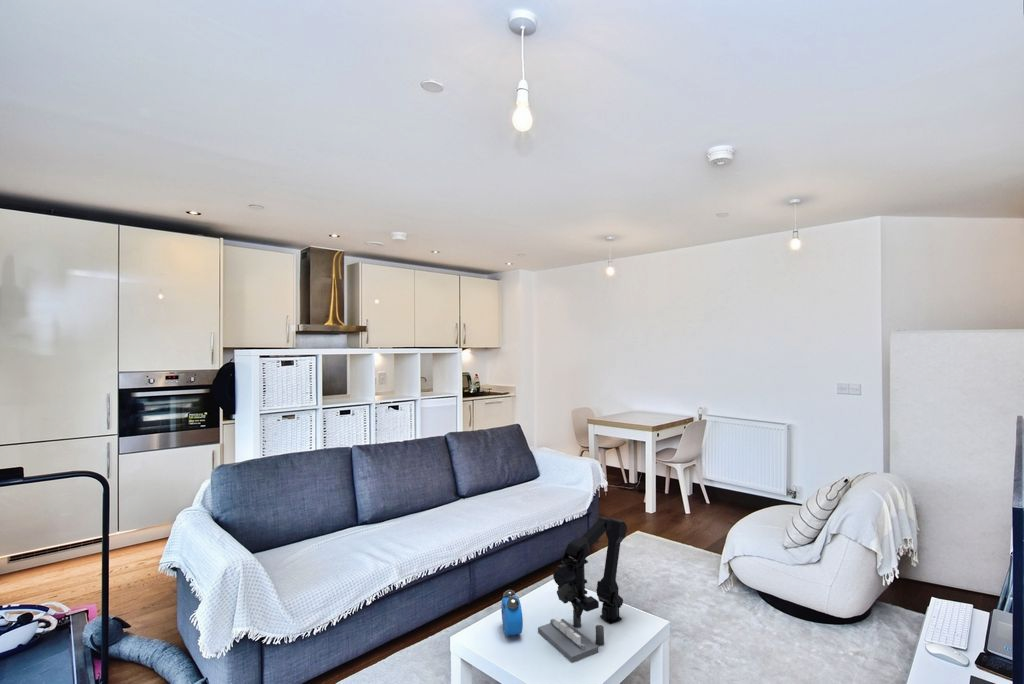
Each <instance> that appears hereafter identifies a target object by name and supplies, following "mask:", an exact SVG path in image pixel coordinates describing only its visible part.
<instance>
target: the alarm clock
mask: <svg viewBox="0 0 1024 684" xmlns="http://www.w3.org/2000/svg"><path fill="white" fill-rule="evenodd" d="M500 607H501V608H500V609H501V620H502V621H501V622H502V628H503V632H504V634H505V636H507V637H508V636H515V635H517V636H518V637H520V635H521V634H522V633H523V628H524V627H523V625H524V622H523V620H524V618H523V610H522V604H521V601H520V598H519V597H518V596H517V595H516V592H515V591H514V590H512V589H508V590H506V591H504V592H503V596H502V599H501V605H500Z"/></svg>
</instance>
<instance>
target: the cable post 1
mask: <svg viewBox="0 0 1024 684" xmlns="http://www.w3.org/2000/svg"><path fill="white" fill-rule="evenodd" d="M572 617H573V618H572V619H573V620H572V622H573V625H572V626H573V627H574V628H576V629H577V628H580V627H581V626H582V616H581V617H580V618H579V619H577V618H576V615H575V612H574V609H573V610H572Z"/></svg>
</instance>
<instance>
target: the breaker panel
mask: <svg viewBox="0 0 1024 684" xmlns="http://www.w3.org/2000/svg"><path fill="white" fill-rule="evenodd" d="M560 620H561V621H562V622H563V623H565V624H566V625H567V626H568V627H570V628H571V629H572V630H573V631H574V633H575V632H576V633H577V634H578V635H580V636H581V648H580V647H579V646H578V645H577V644H576V643H574V642H573V641H572V640H571V639H570V638H568V637H567V636H566V635H565V634H564V633H562V632H561V631H560V630H559V629H558V628H556V627H555V626H554V625H553V624H552V622H553V621H554V618H550V621H549V622H550V623H547V624H544V625H540V626H538V627H537V633H538V634H539V635H540V636H542V638H544V639H545V640H546V641H547V642H548V643H549V644H551V646H553V648H554V649H556V650H557V651H558V652H559V653H561V655H563V657H565V658H566V659H567V660H568V661H569V662H570V663H571V664H572V663H575V662H577V661H580V660H582V659H585V658H588V657H590V656H592V655H595V654H597V653H599V652H600V651H599V645H597V644H596V642H594V641H592V640H591V639H589V638H588V637H587V636H585V634H583V633H582V632H581V631H579V630H578V629H577V628H576V627H574V626H573V625H572V624H571V623H569V622H568V621H567V620H566V619H564V618H561V619H560Z"/></svg>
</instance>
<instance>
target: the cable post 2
mask: <svg viewBox="0 0 1024 684" xmlns="http://www.w3.org/2000/svg"><path fill="white" fill-rule="evenodd" d="M604 627H605V626H603V625H601V624H597V625H596V626H595V644H596V645H597V646H598V647H601V646H604V645H605V635H604V634H605V629H604Z"/></svg>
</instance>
